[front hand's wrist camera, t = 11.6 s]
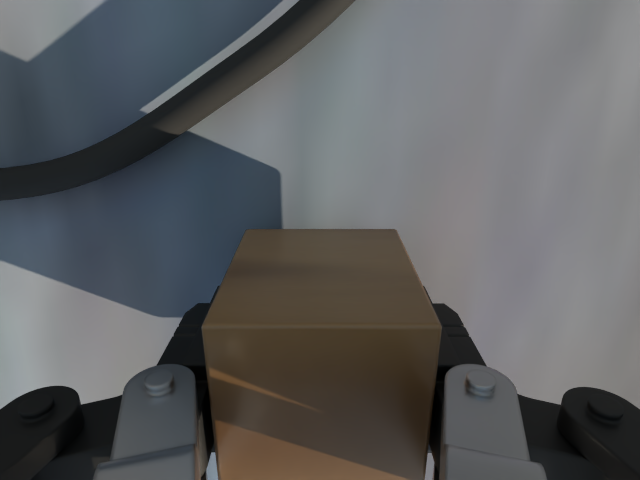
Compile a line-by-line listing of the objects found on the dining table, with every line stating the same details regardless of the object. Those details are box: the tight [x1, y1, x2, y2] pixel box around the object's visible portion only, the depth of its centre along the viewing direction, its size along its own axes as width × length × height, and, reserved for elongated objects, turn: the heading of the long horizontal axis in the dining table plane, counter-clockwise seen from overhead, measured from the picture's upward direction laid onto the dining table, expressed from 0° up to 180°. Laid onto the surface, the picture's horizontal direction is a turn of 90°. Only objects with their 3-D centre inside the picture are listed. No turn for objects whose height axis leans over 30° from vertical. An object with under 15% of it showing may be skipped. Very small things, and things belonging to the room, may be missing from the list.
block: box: [202, 229, 442, 480], centre depth 10 cm, size 5×4×5 cm
